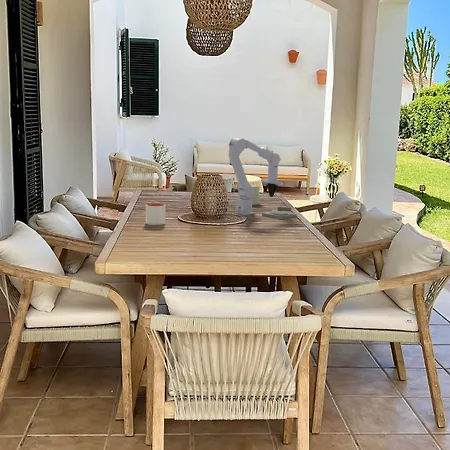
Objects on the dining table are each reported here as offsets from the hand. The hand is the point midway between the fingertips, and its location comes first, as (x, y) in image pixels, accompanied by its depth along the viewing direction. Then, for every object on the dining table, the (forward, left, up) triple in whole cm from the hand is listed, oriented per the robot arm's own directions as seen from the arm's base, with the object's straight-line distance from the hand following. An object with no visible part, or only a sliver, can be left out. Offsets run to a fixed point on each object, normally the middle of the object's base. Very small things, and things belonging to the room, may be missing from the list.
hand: (271, 196), depth 358 cm
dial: (-6, -11, -8) cm, 15 cm away
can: (+16, +28, -10) cm, 34 cm away
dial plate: (-6, -11, -9) cm, 16 cm away
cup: (-79, +13, -10) cm, 81 cm away
